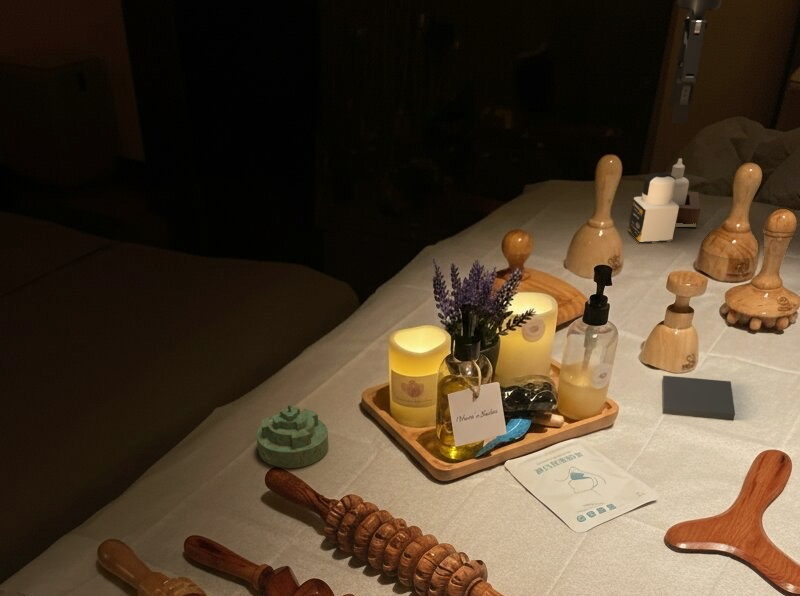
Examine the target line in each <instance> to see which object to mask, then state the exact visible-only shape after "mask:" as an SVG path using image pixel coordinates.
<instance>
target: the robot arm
mask: <svg viewBox="0 0 800 596" xmlns="http://www.w3.org/2000/svg"><path fill="white" fill-rule="evenodd" d="M721 4H722V0H677V5H676V6H677V7H678V8H679V9H681V10H686V17H685V18H684V19H683V23H682V32H681V41H680V46H679V50H678V54H677V56H676V59H677V60H676V67H675V72H674V78H673V83H672V89H671V94H670V99H669V103H668V104H669V106H674V108H673V112H672V117H671V124H682V125H686V124H688V118H689V114H690V108H691V104H692V97H693V94H694V88H695V84H696V83H697V81H698V72H699V65H700V59H701V52H702V48H703V44H704V40H705V34H706V31H707V27H708V21H707V18H705V16H706V11H715V10H717V9H719V8H720V7H721Z"/></svg>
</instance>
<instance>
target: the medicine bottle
mask: <svg viewBox="0 0 800 596" xmlns="http://www.w3.org/2000/svg"><path fill="white" fill-rule="evenodd" d="M675 183H676V179H675V178H674V177H673V176H671V174H669V173H665V172H653V173H650V174H648V175H646V176H645V177H644V180H643V187H642V192H641V196H634V197H633V200H632V206H631V211H630V217H629V224H628V229H627V231H628V230H629V231H630V232H631V233H632V235H633V236H634V237H635V238H636V239H637V240H638V241H639V242H644V241H659V240H669V239H672V240H674V233H675V229H676V227H675V224H676V219H677V215H678V210H679V206H678V205H677V204H676V203H675V202H674V201H673V200H672V198H673V193H674V188H675ZM632 235H631V236H632ZM633 236H632V237H633ZM634 237H633V238H634ZM635 238H634V239H635ZM636 239H635V240H636ZM637 240H636V241H637ZM638 241H637V242H638ZM639 242H638V243H639Z"/></svg>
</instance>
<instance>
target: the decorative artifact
mask: <svg viewBox="0 0 800 596" xmlns="http://www.w3.org/2000/svg"><path fill="white" fill-rule="evenodd" d="M328 432H329V431H328V427H327V425H326V424H325V423H324V422H323V421H322V420H320V419H319V415H318V413H316V412H315V411H313V410H311V409H309V408H303V409H302V410H301V409H300V408H299V407H298V406H292V404H290V403H288V404H287V407H286V408H281V409H280V411H279V413H276V414H274V415H273V416H271V417H266V416H265V417H264V418H263V419H262V421H261V425H260V427H259V428H258V429H257V431H256V445H257V451H258V456H259V457H260V459H262V460H263V461H264V462H265V463H266V464H268V465H271V466H274V467H277V468H283V469H295V468H296V469H297V468H304V467H307V466H310V465H313V464H315V463H317V462H319V461H320V460H322V459H323V458H324V457H325V456H326V455H327V453H328V451H329V433H328Z"/></svg>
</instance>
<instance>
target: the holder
mask: <svg viewBox="0 0 800 596" xmlns="http://www.w3.org/2000/svg"><path fill="white" fill-rule="evenodd" d="M678 206H679V210H678V215H677V219H676V223H683V224H693V223H694V224H695V223H696V224H697V225H698V223H699V222H698V221H699V217H700V212H701V203H700V196H699V192H698V191H688V192H687V197H686V202H685V205H678Z"/></svg>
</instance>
